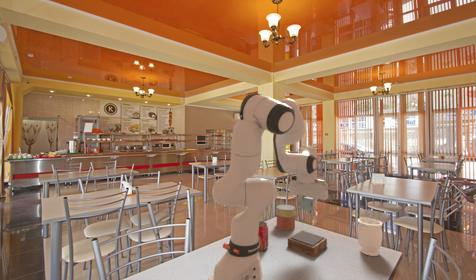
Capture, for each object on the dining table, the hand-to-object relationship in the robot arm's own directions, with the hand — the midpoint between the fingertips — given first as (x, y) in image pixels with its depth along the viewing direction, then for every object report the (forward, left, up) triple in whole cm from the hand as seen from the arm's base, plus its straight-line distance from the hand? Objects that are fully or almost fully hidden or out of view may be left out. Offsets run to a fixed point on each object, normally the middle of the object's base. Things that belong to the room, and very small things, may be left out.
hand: (307, 205), depth 114 cm
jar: (+16, -24, -21) cm, 36 cm away
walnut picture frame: (0, 0, -21) cm, 21 cm away
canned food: (+14, +22, -21) cm, 34 cm away
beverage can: (-18, +16, -21) cm, 32 cm away
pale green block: (0, 0, -2) cm, 2 cm away
